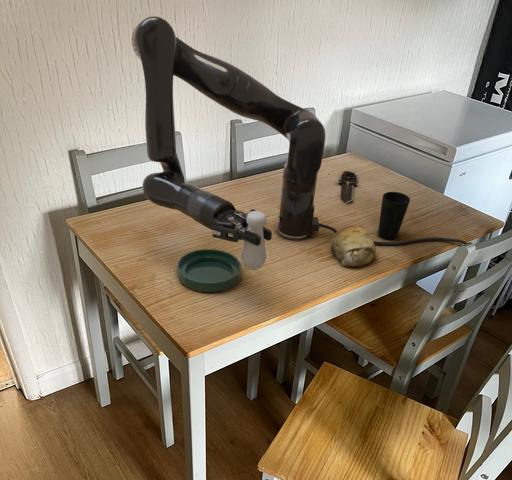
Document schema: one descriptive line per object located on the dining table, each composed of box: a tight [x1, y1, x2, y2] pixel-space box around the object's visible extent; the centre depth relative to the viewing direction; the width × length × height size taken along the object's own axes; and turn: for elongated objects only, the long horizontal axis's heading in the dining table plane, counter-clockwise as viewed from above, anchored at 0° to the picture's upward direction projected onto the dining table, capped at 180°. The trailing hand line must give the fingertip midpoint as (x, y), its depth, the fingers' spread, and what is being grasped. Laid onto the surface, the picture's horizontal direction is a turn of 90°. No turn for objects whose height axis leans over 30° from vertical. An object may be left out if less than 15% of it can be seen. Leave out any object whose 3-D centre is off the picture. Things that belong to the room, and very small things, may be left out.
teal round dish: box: [176, 248, 242, 293], centre depth 136 cm, size 16×16×3 cm
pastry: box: [330, 225, 377, 268], centre depth 146 cm, size 14×12×8 cm
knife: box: [337, 170, 358, 204], centre depth 182 cm, size 25×6×1 cm, turn 165°
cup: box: [377, 191, 411, 241], centre depth 155 cm, size 8×8×12 cm
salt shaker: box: [240, 210, 267, 271], centre depth 119 cm, size 6×6×13 cm
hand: (265, 238), depth 117 cm, fingers closed on salt shaker, 3 cm apart
